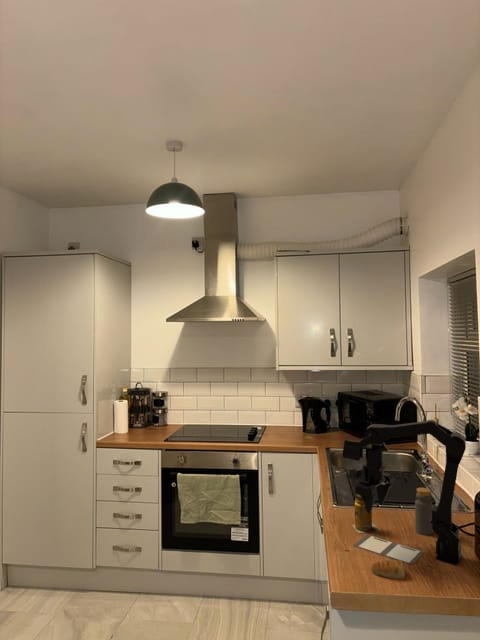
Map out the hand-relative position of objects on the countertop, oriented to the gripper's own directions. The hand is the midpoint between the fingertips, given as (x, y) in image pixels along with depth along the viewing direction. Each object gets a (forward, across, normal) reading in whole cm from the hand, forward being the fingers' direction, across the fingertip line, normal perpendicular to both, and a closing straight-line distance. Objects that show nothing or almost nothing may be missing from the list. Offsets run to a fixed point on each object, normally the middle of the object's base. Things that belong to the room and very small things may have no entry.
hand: (374, 508), depth 155 cm
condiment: (+12, -10, -8) cm, 18 cm away
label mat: (+12, 0, +4) cm, 13 cm away
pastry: (+12, +14, +11) cm, 22 cm away
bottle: (+12, -21, +9) cm, 26 cm away
